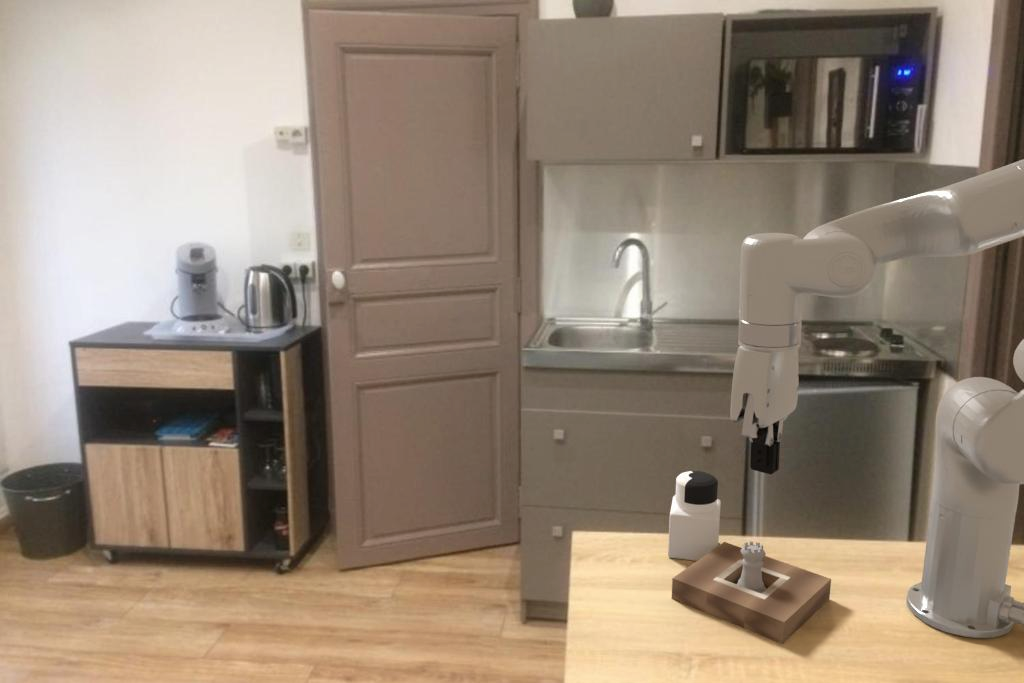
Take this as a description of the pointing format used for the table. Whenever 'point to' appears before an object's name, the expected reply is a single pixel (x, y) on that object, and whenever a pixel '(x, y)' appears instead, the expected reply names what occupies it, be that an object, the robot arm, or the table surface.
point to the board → (752, 592)
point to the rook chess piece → (752, 567)
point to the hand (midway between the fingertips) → (764, 469)
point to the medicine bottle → (694, 516)
